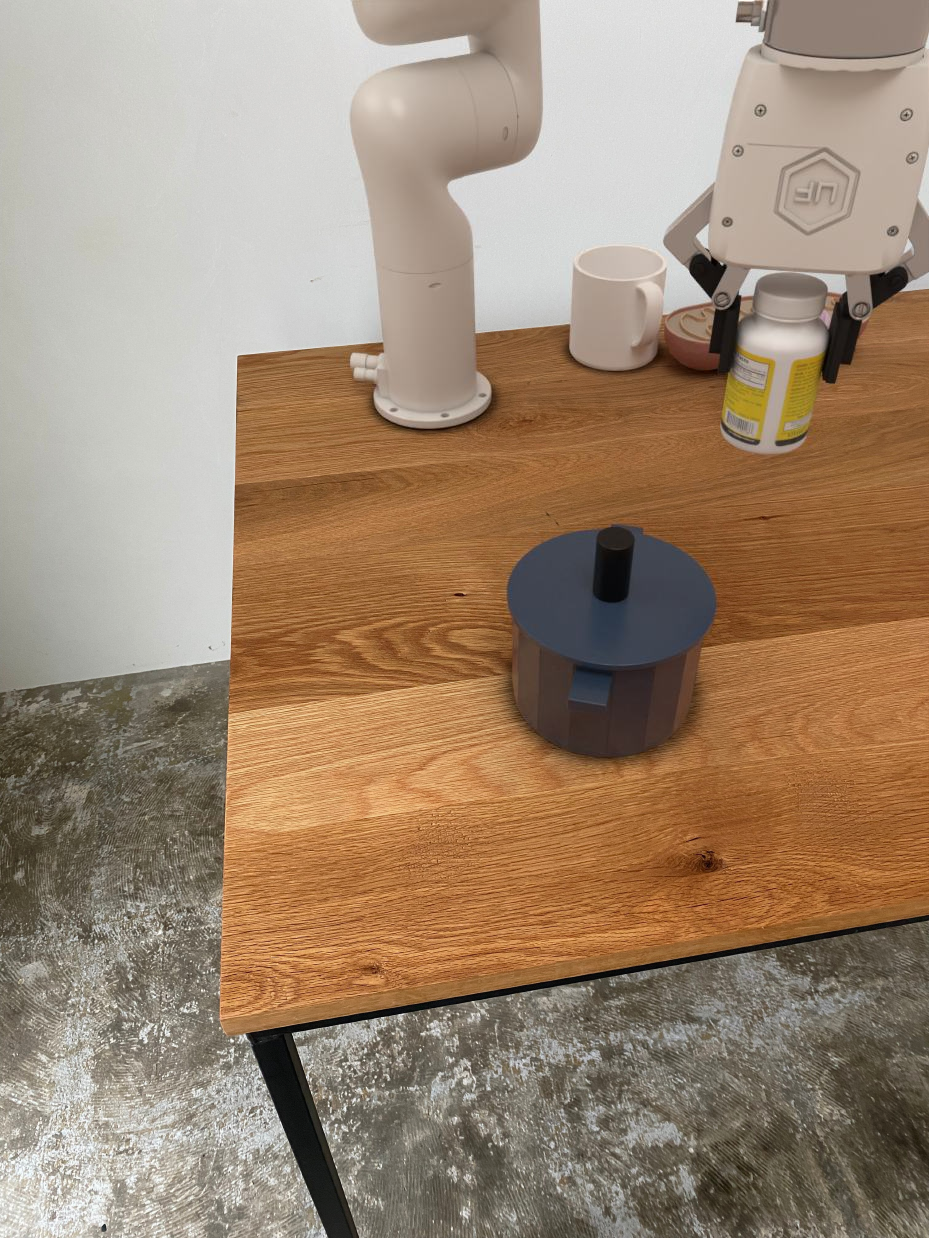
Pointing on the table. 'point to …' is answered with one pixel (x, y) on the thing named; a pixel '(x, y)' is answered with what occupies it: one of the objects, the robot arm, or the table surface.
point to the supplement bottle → (776, 365)
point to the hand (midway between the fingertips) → (776, 365)
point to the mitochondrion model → (694, 328)
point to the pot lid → (611, 599)
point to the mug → (616, 306)
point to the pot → (601, 699)
